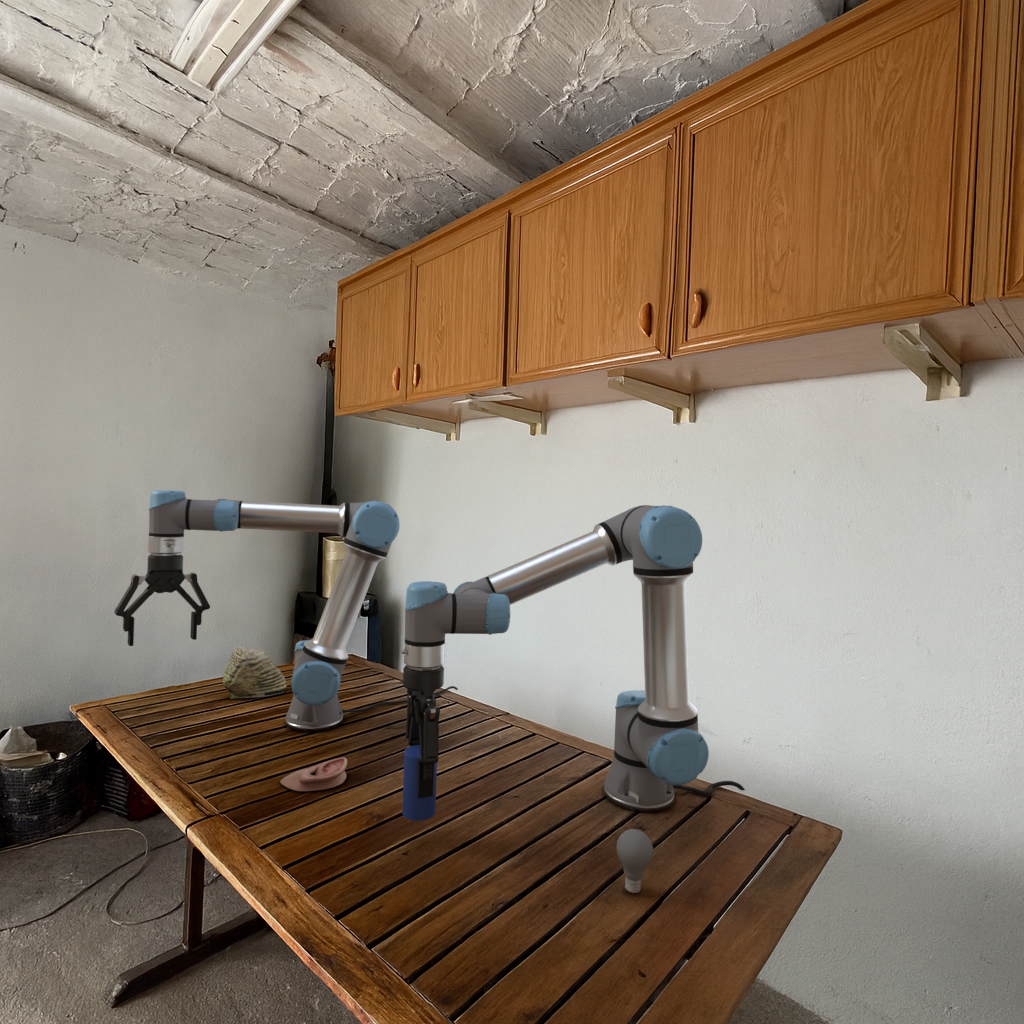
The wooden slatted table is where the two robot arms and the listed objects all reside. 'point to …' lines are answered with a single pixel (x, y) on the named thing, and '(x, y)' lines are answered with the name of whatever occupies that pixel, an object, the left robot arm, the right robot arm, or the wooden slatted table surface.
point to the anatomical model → (317, 776)
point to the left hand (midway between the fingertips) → (162, 641)
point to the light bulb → (634, 857)
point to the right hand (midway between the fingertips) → (419, 788)
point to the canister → (411, 803)
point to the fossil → (252, 674)
